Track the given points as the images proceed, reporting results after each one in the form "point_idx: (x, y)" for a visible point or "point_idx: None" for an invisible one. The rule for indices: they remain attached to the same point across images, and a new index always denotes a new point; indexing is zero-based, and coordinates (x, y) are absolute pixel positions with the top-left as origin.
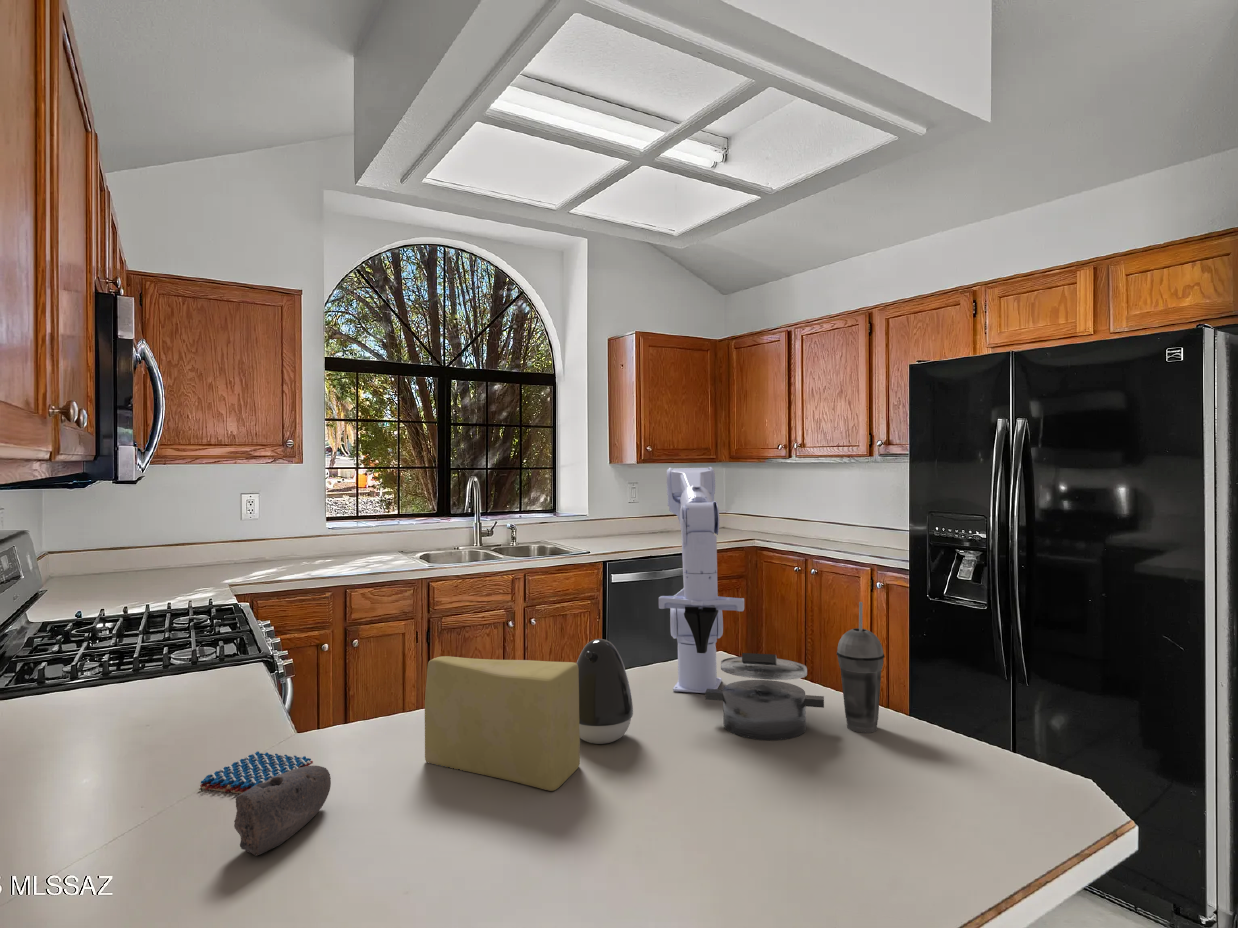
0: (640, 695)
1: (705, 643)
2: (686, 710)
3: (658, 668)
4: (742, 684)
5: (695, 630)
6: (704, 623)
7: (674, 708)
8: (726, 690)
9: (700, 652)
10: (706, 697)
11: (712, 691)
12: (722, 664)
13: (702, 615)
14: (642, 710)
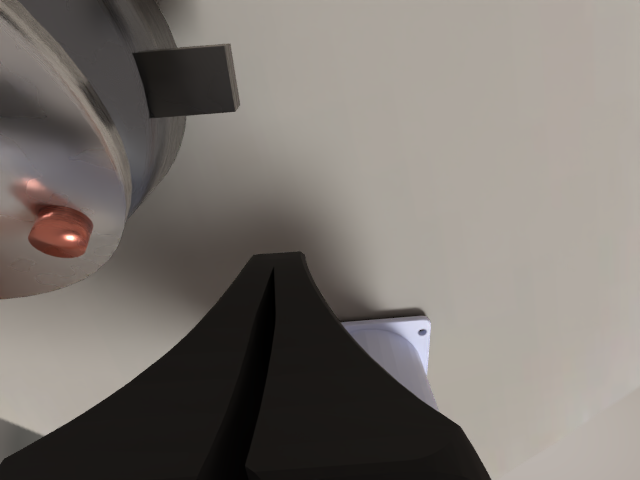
0: (526, 258)
1: (231, 285)
2: (349, 160)
3: (495, 463)
4: None
5: (305, 336)
6: (176, 394)
7: (394, 168)
8: (106, 54)
9: (280, 254)
10: (222, 44)
11: (194, 70)
12: (9, 5)
13: (140, 477)
14: (505, 111)
